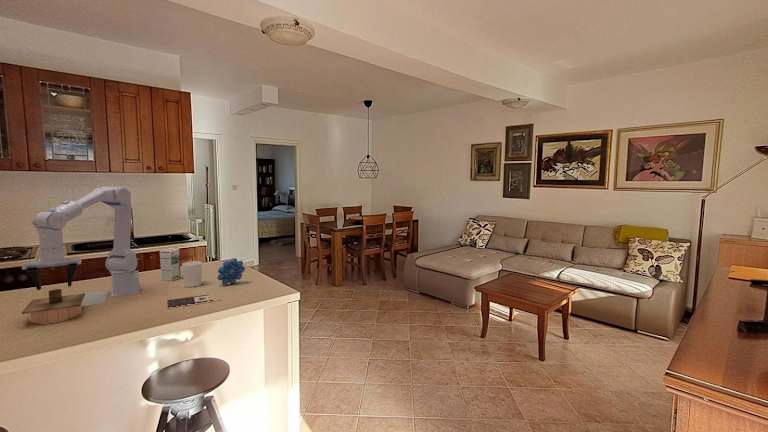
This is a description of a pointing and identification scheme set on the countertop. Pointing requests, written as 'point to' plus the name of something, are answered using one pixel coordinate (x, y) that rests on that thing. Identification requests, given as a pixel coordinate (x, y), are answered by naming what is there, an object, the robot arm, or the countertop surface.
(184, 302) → the chocolate bar
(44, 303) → the lid
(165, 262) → the syrup box
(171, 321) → the countertop surface
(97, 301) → the mat
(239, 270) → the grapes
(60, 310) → the bowl
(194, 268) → the white cup
